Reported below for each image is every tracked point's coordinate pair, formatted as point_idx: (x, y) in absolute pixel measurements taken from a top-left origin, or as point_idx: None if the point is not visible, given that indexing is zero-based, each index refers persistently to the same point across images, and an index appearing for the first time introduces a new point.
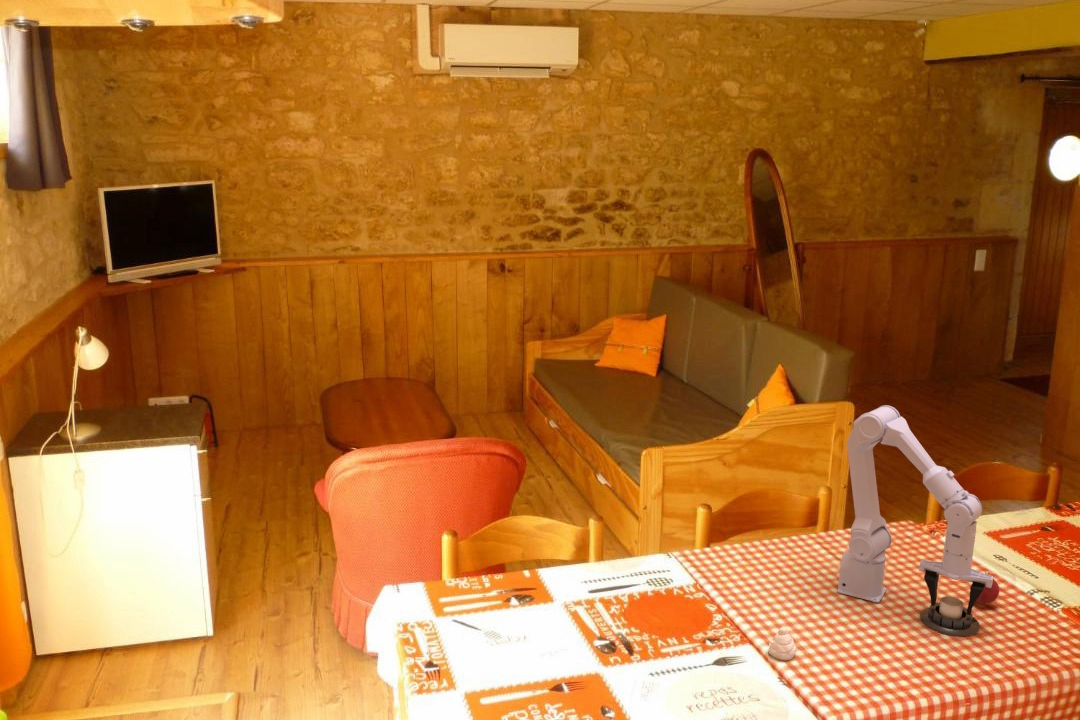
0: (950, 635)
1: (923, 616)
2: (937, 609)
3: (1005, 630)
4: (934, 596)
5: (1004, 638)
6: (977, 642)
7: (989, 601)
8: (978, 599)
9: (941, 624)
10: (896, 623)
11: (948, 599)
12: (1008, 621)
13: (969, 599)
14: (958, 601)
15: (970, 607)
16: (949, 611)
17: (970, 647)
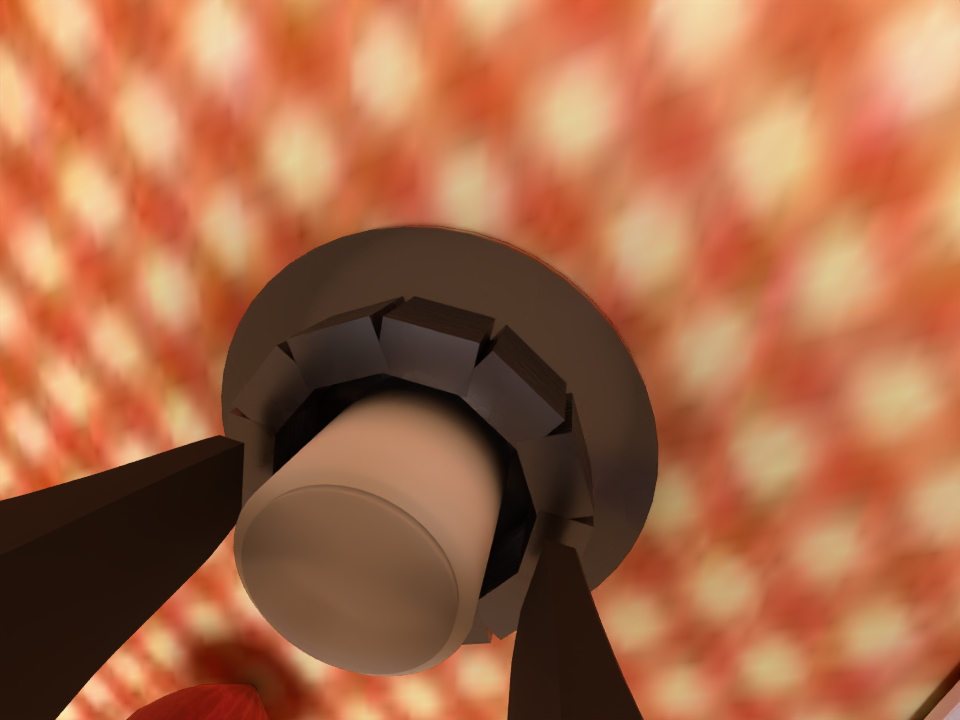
0: (425, 226)
1: (631, 465)
2: (508, 554)
3: (100, 431)
4: (553, 630)
5: (83, 321)
6: (226, 185)
7: (174, 693)
8: (236, 710)
9: (491, 324)
10: (925, 306)
11: (382, 608)
12: None
13: (38, 538)
14: (276, 583)
15: (139, 469)
16: (393, 436)
17: (265, 58)
